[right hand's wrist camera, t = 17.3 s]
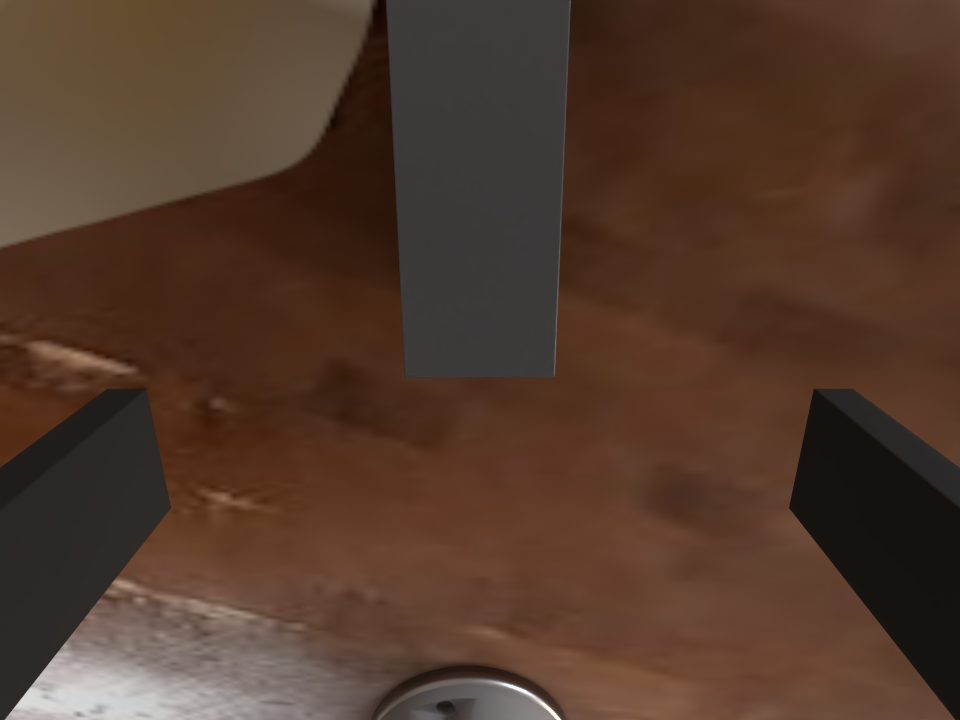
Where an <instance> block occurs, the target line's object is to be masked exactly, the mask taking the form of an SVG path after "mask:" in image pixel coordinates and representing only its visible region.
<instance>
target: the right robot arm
mask: <svg viewBox="0 0 960 720" xmlns="http://www.w3.org/2000/svg"><path fill="white" fill-rule="evenodd" d="M170 508H171V506H170V501H169V497H168V492H167V487H166V482H165V477H164V473H163V468H162V463H161V458H160V453H159V448H158V444H157V439H156V434H155V429H154V424H153V420H152V415H151V410H150V405H149V400H148V395H147V391H146V389H107V390H105V391H104V392H102V393H101V394H100V395H98V396H97V397H96V398H94V399H93V400H92V401H90V402H89V403H88V404H86V405H85V406H83V407H82V408H81V409H79V410H78V411H77V412H75V413H74V414H73V415H71V416H70V417H69V418H67V419H66V420H64V421H63V422H62V423H60V424H59V425H58V426H56V427H55V428H54V429H52V430H51V431H50V432H48V433H47V434H45V435H44V436H43V437H41V438H40V439H39V440H37V441H36V442H35V443H33V444H32V445H31V446H29V447H28V448H26V449H25V450H24V451H22V452H21V453H20V454H18V455H17V456H16V457H14V458H13V459H12V460H10V461H9V462H7V463H6V464H5V465H3V466H2V467H1V468H0V720H5V718H6V717H7V716H8V715H9V713H10V712H11V711H12V710H13V708H14V707H15V706H16V704H17V703H18V702H19V701H20V699H21V698H22V697H23V696H24V694H25V693H26V692H27V690H28V689H29V688H30V687H31V685H32V684H33V683H34V682H35V680H36V679H37V678H38V676H39V675H40V674H41V673H42V671H43V670H44V669H45V668H46V666H47V665H48V664H49V662H50V661H51V660H52V659H53V657H54V656H55V655H56V654H57V652H58V651H59V650H60V648H61V647H62V646H63V645H64V643H65V642H66V641H67V640H68V638H69V637H70V636H71V634H72V633H73V632H74V631H75V629H76V628H77V627H78V626H79V624H80V623H81V622H82V620H83V619H84V618H85V617H86V615H87V614H88V613H89V612H90V610H91V609H92V608H93V606H94V605H95V604H96V603H97V601H98V600H99V599H100V598H101V596H102V595H103V594H104V592H105V591H106V590H107V589H108V587H109V586H110V585H111V584H112V582H113V581H114V580H115V578H116V577H117V576H118V575H119V573H120V572H121V571H122V570H123V568H124V567H125V566H126V564H127V563H128V562H129V561H130V559H131V558H132V557H133V556H134V554H135V553H136V552H137V550H138V549H139V548H140V547H141V545H142V544H143V543H144V542H145V540H146V539H147V538H148V536H149V535H150V534H151V533H152V531H153V530H154V529H155V528H156V526H157V525H158V524H159V522H160V521H161V520H162V519H163V517H164V516H165V515H166V514H167V512H168V511H169V510H170ZM789 508H790V510H791V511H792V512H793V514H794V515H795V516H796V517H797V519H798V520H799V521H800V522H801V524H802V525H803V526H804V528H805V529H806V530H807V531H808V533H809V534H810V535H811V536H812V538H813V539H814V540H815V542H816V543H817V544H818V545H819V547H820V548H821V549H822V550H823V552H824V553H825V554H826V556H827V557H828V558H829V559H830V561H831V562H832V563H833V564H834V566H835V567H836V568H837V570H838V571H839V572H840V573H841V575H842V576H843V577H844V578H845V580H846V581H847V582H848V584H849V585H850V586H851V587H852V589H853V590H854V591H855V592H856V594H857V595H858V596H859V598H860V599H861V600H862V601H863V603H864V604H865V605H866V606H867V608H868V609H869V610H870V612H871V613H872V614H873V615H874V617H875V618H876V619H877V620H878V622H879V623H880V624H881V626H882V627H883V628H884V629H885V631H886V632H887V633H888V634H889V636H890V637H891V638H892V640H893V641H894V642H895V643H896V645H897V646H898V647H899V648H900V650H901V651H902V652H903V654H904V655H905V656H906V657H907V659H908V660H909V661H910V662H911V664H912V665H913V666H914V668H915V669H916V670H917V671H918V673H919V674H920V675H921V676H922V678H923V679H924V680H925V682H926V683H927V684H928V685H929V687H930V688H931V689H932V690H933V692H934V693H935V694H936V696H937V697H938V698H939V699H940V701H941V702H942V703H943V704H944V706H945V707H946V708H947V710H948V711H949V712H950V713H951V715H952V716H953V717H954V718H955V720H960V468H959V467H958V466H957V465H955V464H954V463H953V462H951V461H950V460H948V459H947V458H946V457H944V456H943V455H942V454H940V453H939V452H938V451H936V450H935V449H934V448H932V447H931V446H929V445H928V444H927V443H925V442H924V441H923V440H921V439H920V438H919V437H917V436H916V435H915V434H913V433H912V432H910V431H909V430H908V429H906V428H905V427H904V426H902V425H901V424H900V423H898V422H897V421H896V420H894V419H893V418H891V417H890V416H889V415H887V414H886V413H885V412H883V411H882V410H881V409H879V408H878V407H877V406H875V405H874V404H872V403H871V402H870V401H868V400H867V399H866V398H864V397H863V396H862V395H860V394H859V393H858V392H856V391H855V390H853V389H814V391H813V395H812V400H811V405H810V410H809V415H808V420H807V424H806V429H805V434H804V439H803V444H802V448H801V453H800V458H799V463H798V468H797V473H796V477H795V482H794V487H793V492H792V497H791V501H790V506H789ZM372 720H566V718H565V716H564V714H563V712H562V710H561V709H560V707H559V706H558V704H557V703H556V702H555V701H554V699H553V698H552V697H551V696H550V695H549V694H548V693H547V692H545V691H544V690H543V689H541V688H540V687H539V686H537V685H536V684H534V683H533V682H531V681H529V680H527V679H525V678H523V677H520V676H518V675H516V674H513V673H510V672H507V671H503V670H499V669H494V668H488V667H478V666H459V667H449V668H443V669H438V670H434V671H430V672H427V673H424V674H422V675H419V676H417V677H414V678H412V679H410V680H408V681H406V682H405V683H403V684H402V685H400V686H398V687H397V688H396V689H395V690H393V691H392V692H391V693H390V694H389V695H388V696H387V697H386V698H385V699H384V700H383V701H382V702H381V704H380V705H379V707H378V708H377V710H376V711H375V713H374V715H373V717H372Z"/></svg>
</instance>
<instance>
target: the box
mask: <svg viewBox="0 0 960 720" xmlns="http://www.w3.org/2000/svg"><path fill="white" fill-rule="evenodd" d="M570 5H571V0H386V11H387V31H388V51H389V71H390V91H391V111H392V131H393V151H394V171H395V191H396V211H397V231H398V251H399V271H400V291H401V311H402V331H403V351H404V371H405V377H554V376H555V355H556V332H557V309H558V285H559V262H560V239H561V215H562V192H563V168H564V145H565V122H566V98H567V75H568V52H569V28H570Z"/></svg>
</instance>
